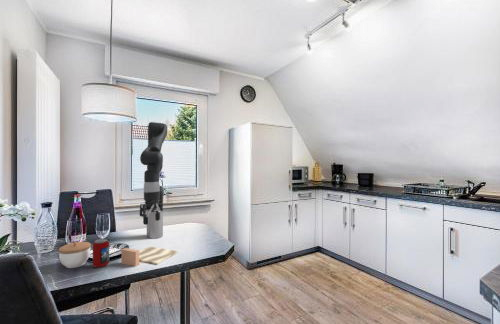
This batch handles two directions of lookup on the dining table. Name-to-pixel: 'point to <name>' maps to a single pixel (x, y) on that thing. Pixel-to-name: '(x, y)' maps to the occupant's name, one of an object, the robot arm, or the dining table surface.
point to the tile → (130, 257)
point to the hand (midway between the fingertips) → (151, 222)
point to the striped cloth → (155, 255)
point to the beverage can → (100, 253)
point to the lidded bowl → (74, 254)
